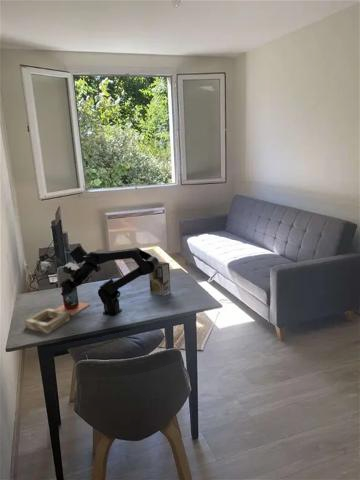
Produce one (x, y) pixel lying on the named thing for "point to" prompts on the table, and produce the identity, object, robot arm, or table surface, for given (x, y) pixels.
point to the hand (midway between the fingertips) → (67, 291)
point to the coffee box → (160, 279)
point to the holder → (57, 316)
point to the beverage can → (71, 300)
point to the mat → (73, 311)
